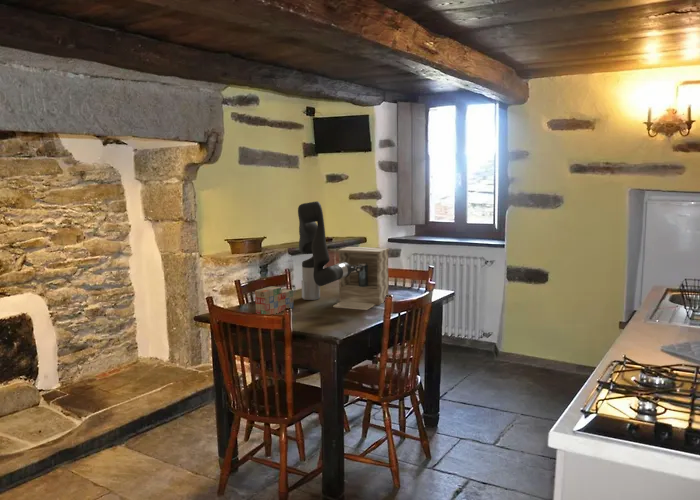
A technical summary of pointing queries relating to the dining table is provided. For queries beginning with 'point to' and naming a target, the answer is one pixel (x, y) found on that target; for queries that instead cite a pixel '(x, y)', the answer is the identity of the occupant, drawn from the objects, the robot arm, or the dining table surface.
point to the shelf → (376, 275)
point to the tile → (354, 305)
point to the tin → (363, 275)
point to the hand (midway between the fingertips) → (353, 266)
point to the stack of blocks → (273, 300)
